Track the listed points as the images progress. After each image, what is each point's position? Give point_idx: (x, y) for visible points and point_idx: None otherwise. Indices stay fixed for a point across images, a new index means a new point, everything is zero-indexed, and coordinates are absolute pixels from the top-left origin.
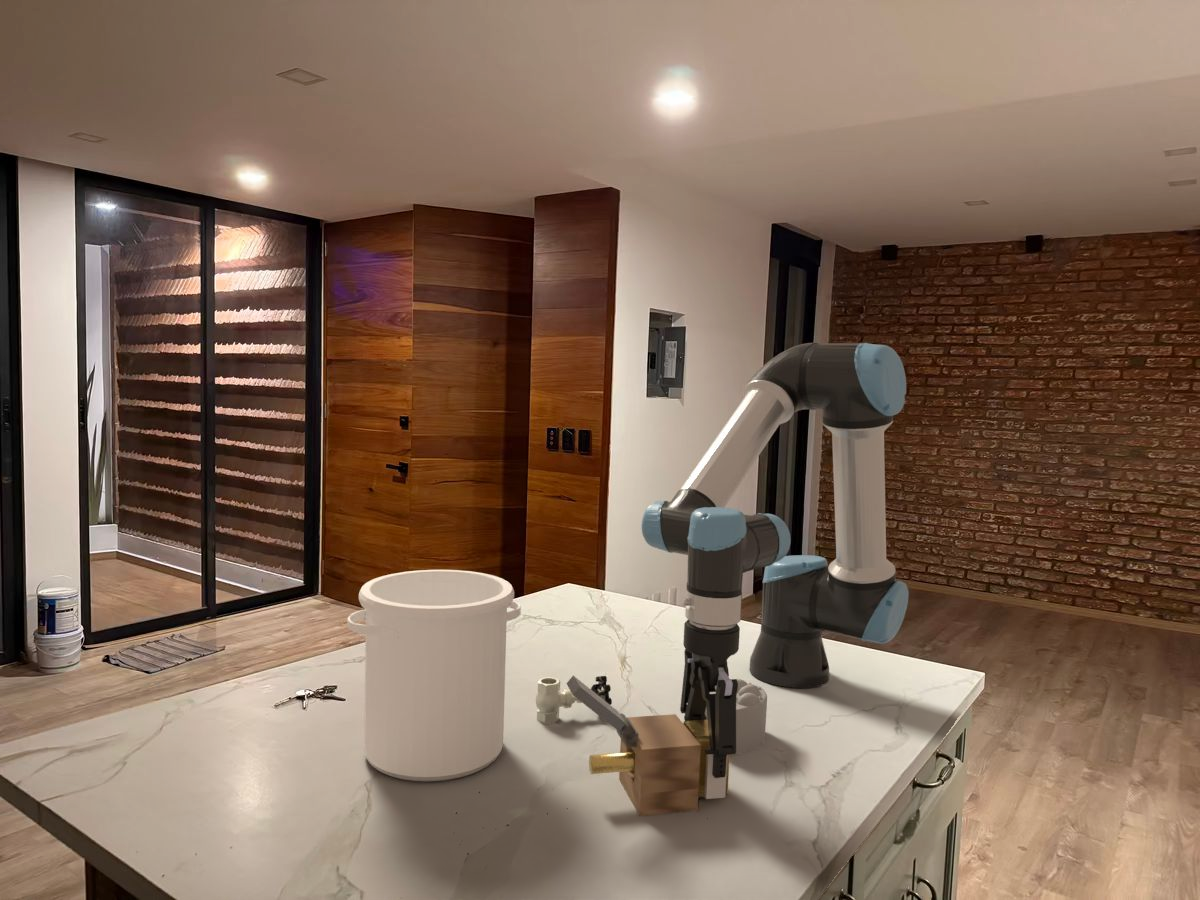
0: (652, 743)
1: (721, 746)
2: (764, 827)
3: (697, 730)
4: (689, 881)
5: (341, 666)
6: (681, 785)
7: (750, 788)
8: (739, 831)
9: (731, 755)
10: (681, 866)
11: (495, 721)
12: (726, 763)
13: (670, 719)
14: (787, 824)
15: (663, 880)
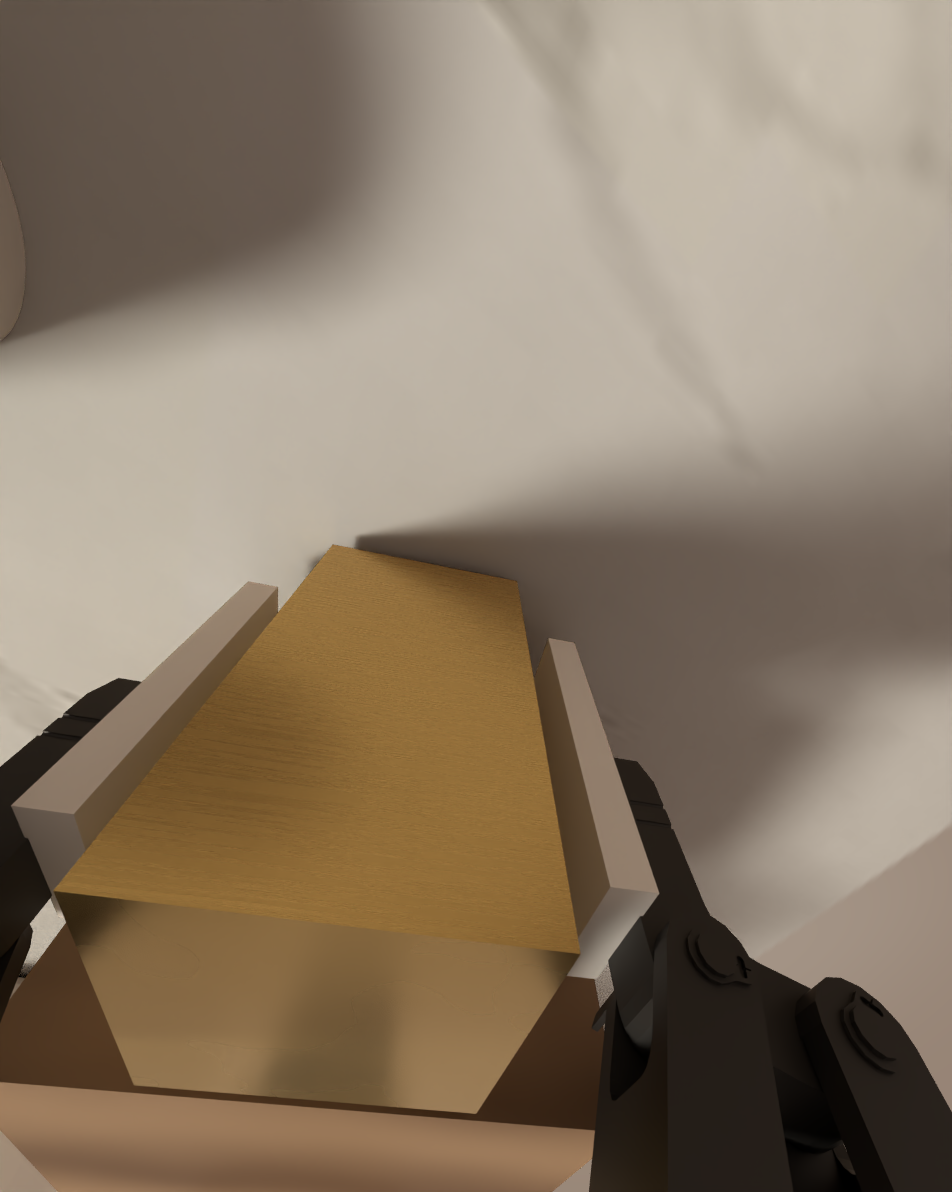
0: None
1: (851, 1179)
2: (806, 572)
3: (361, 1082)
4: (821, 884)
5: None
6: None
7: (486, 398)
8: (752, 674)
9: (15, 211)
10: (761, 875)
11: (25, 1189)
12: (623, 793)
13: (90, 1115)
14: (875, 452)
15: (772, 917)
